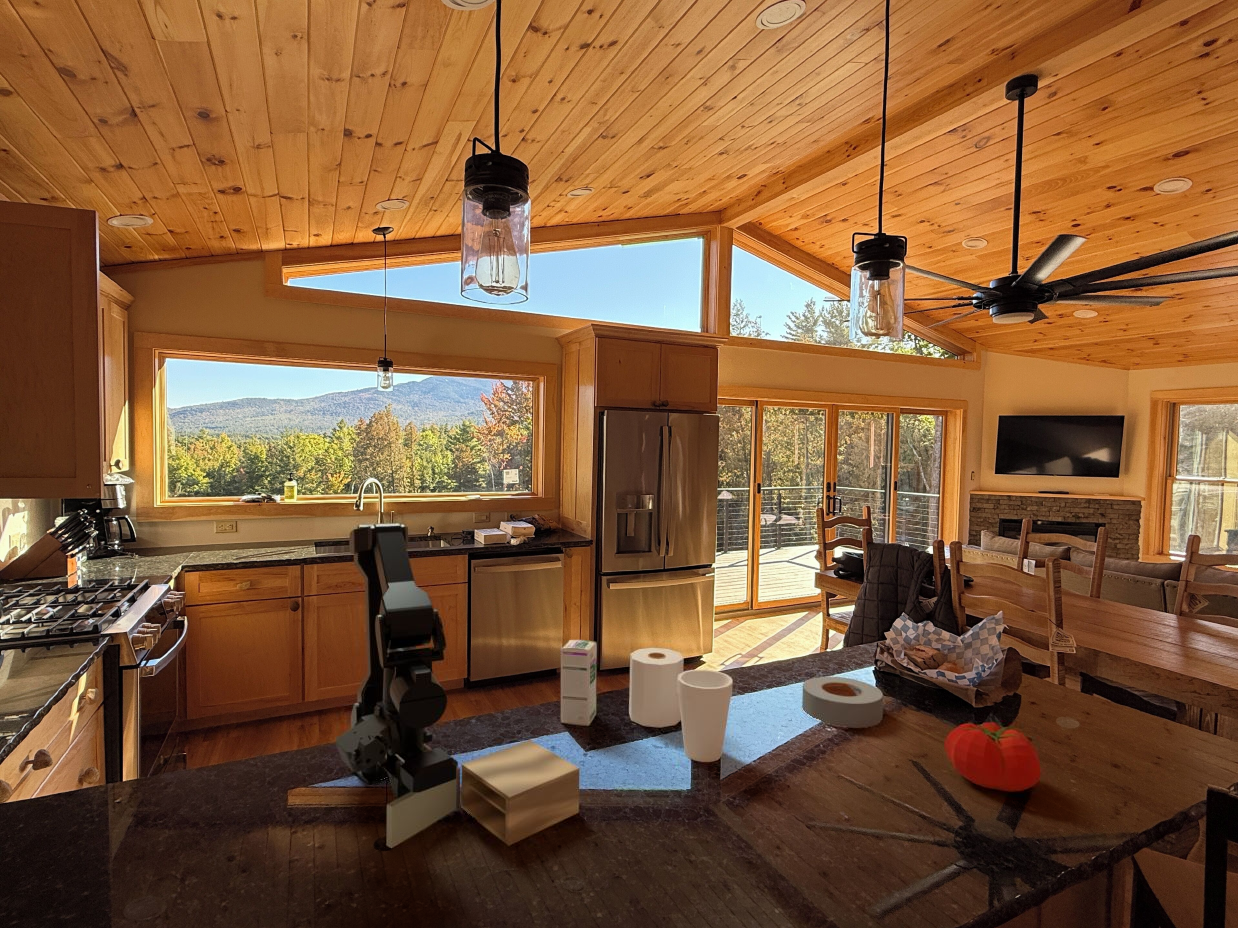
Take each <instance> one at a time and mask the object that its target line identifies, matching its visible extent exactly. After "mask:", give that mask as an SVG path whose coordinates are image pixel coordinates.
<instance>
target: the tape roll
mask: <svg viewBox="0 0 1238 928" xmlns="http://www.w3.org/2000/svg"><path fill="white" fill-rule="evenodd" d="M801 699H802V701H801V703H802V704H801V709H802V708H803V710H804V711H805V712H806V713H807V714H809V715H810V716H812V717H813V718H816V719H819V720H821V721H823V722H826V723H830V724H834V725H840V726H846V727H864V726H872V725H874V724H877V723H879V722H880V721H881V720H882V721H883V719H882V718H884V717H883V715H884V714H883V712H884V711H883V710H884V709H883V708H884V694H883V692H882V691H881V689H880V688H878V687H876V686H875V685H872V684H870V683H867V682H865V681H862V680H857V679H853V678H848V677H842V676H841V677H840V676H821V677H812V678H810V679H807V680H805V681H804V682H803V683H802V698H801ZM803 710H802V711H803Z"/></svg>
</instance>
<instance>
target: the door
mask: <svg viewBox="0 0 1238 928" xmlns="http://www.w3.org/2000/svg"><path fill="white" fill-rule="evenodd" d="M459 808H461V767H460V766H458V776H457V778H456V779H455V780H452V781H449V782H447V783H444V784H441V785H439V786H436V787H433V788H431V789H428V790H425V791H422V792H420V793H415V792H412V791H411V792H409V793H407V794H405V795H404V796H402V797H400V798H398V799H396V800H395V799H394V800H393V801H390V802H389V803H387V804H386V846H387V847H388V848H391V849H392V848H394V847H395V846H396V847H397V846H398V845H399V844H401V843H403V842H404V841H406V840H407V839H409V838H411V837H414V835H416V834H417V833H419V832H421V831H422V830H424V829H426V828H427V827H429V826H431V825H432V824H434V823H436V822H437V821H439V820H441V819H442V818H444V817H446V816H447V815H449V814H450V813H452V812H454V811H455V810H457V809H459Z"/></svg>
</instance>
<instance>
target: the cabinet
mask: <svg viewBox="0 0 1238 928" xmlns="http://www.w3.org/2000/svg"><path fill="white" fill-rule="evenodd" d="M579 807H580V767H579V766H577V765H575V764H573V763H571V762H570V761H568V760H566V759H564V758H563V757H562V756H559V755H557V754H556V753H554V752H552V751H551V750H548V749H546V748H545V747H543V746H541V745H539V744H538V743H536V742H534V741H533V740H531V739H528V740H525V741H522V742H520V743H517V744H514V745H511V746H509V747H508V746H507V747H506V748H503V749H500V750H498V751H494V752H492V753H489V754H486V755H483V756H481V757H478V758H475V759H472V760H469V761H467V762H464V763H461V782H460V808H463V809H464V810H465V811H466V812H467V814H468V815H469V814H470V815H471V816H472V818H473V817H474V818H475V819H476V820H477V821H476V820H475V819H474V818H473V819H474V820H475V821H476V822H478V823H479V824H481V826H483V827H484V828H485V829H486V830H488V831H489V832H491V834H493V835H494V836H496V837H497V838H498V839H499V840H501V841H502V842H503V843H504V844H506V845H507V846H509V847H510V846H512V845H513V844H516V843H518V842H520V841H522V840H524V839H526V838H528V837H530V836H532V835H534V834H537V833H539V832H541V831H543V830H545V829H546V828H547V829H548V828H549V827H552V826H554V825H556V824H557V823H559V822H562V821H564V820H566V819H569V818H570V817H572V816H574V815H577V814H578V813H579V812H580V811H579ZM463 809H462V810H463ZM464 810H463V811H464ZM465 811H464V812H465ZM466 812H465V813H466ZM470 815H469V816H470ZM471 816H470V817H471Z"/></svg>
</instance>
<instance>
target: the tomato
mask: <svg viewBox="0 0 1238 928" xmlns="http://www.w3.org/2000/svg"><path fill="white" fill-rule="evenodd" d="M1007 728H1009V727H1008V726H1006V727H1005V726H1003V727H1002V728H1001V727H999V725H998V724H996V723H995V722H984V723H982V724H977V723H976V724H974V723H972V722H968V723H963V724H960V725H958V726H957V727H955V728H954V729H953V730H951V732H950V733H949V734H948V735H947V736H946V737H945V741H944V749H945V753H946V755H947V757H948V759H949V760H950V762H951V763H952V765H953V767H954V768H955V770H956V771H957V772H958V773H959V774H960V775H961V776H962V777H963V778H965V779H966V780H969V781H970V782H972V784H975V785H978V786H980V787H984V788H987V789H991V790H992V789H993V790H998V791H1003V792H1013V793H1014V792H1022V791H1024V790H1028V789H1029V788H1032V787H1034V786H1036V784H1038V782H1039V781H1040V778H1041V775H1042V769H1041V764H1040V759H1039V755H1038V753H1037V751H1036V749H1035V747H1034V746H1033V744H1032V743H1031V742H1030V741H1029V740H1028V739H1027V738H1026V736H1025V735H1024V734H1023V733H1021V732H1019V731H1017V730H1015V729H1007Z"/></svg>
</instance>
